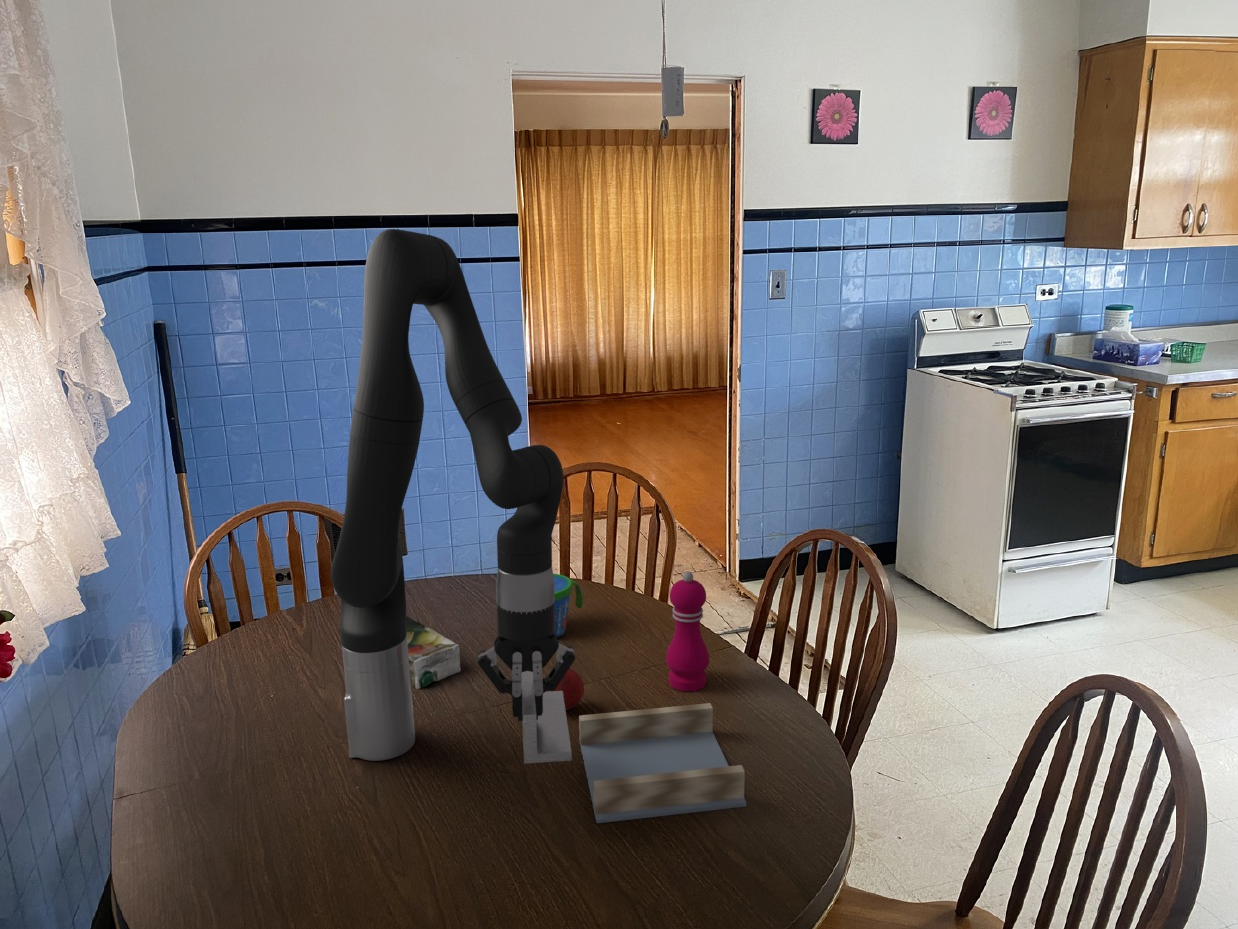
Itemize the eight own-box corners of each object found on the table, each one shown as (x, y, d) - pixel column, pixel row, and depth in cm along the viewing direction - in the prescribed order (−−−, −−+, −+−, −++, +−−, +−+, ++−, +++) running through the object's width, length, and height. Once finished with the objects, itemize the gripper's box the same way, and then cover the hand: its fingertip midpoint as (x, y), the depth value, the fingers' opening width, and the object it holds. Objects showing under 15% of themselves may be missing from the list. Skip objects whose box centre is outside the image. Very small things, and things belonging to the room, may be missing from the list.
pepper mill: (660, 689, 150) (659, 577, 145) (674, 670, 156) (674, 561, 151) (701, 696, 147) (702, 582, 142) (714, 677, 154) (715, 567, 149)
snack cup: (516, 652, 164) (513, 600, 161) (498, 630, 173) (495, 581, 170) (594, 635, 170) (593, 585, 167) (573, 614, 179) (571, 567, 177)
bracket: (571, 760, 115) (571, 712, 113) (524, 763, 114) (523, 715, 112) (562, 698, 130) (562, 655, 129) (521, 700, 130) (520, 657, 128)
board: (596, 823, 116) (596, 819, 116) (579, 739, 135) (578, 736, 135) (746, 806, 119) (746, 802, 119) (708, 726, 138) (708, 723, 138)
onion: (579, 721, 140) (578, 674, 138) (544, 717, 142) (542, 671, 140) (588, 702, 146) (587, 657, 144) (554, 699, 147) (552, 654, 145)
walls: (595, 814, 117) (594, 787, 116) (579, 739, 134) (579, 715, 133) (744, 798, 120) (744, 771, 119) (709, 726, 137) (710, 703, 136)
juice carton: (467, 672, 157) (464, 640, 155) (419, 694, 150) (416, 660, 149) (404, 639, 171) (401, 609, 169) (357, 657, 164) (354, 626, 162)
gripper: (471, 612, 113) (476, 736, 117) (580, 607, 114) (580, 729, 119) (473, 589, 120) (477, 706, 124) (575, 585, 122) (575, 700, 126)
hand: (528, 717), depth 121 cm, fingers closed on bracket, 1 cm apart
